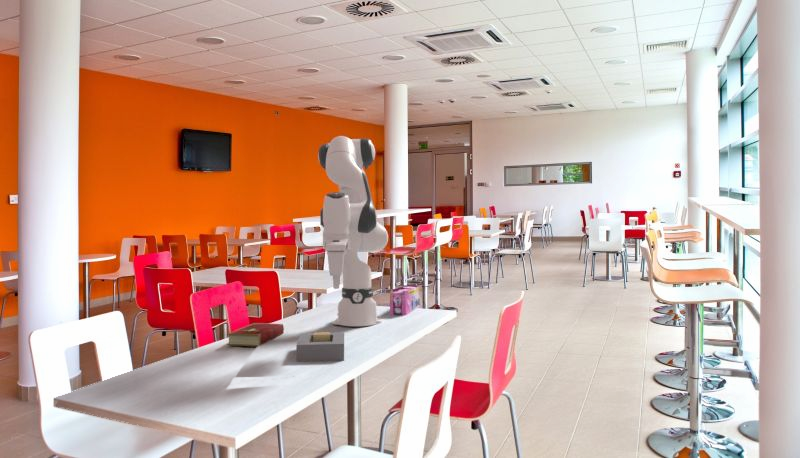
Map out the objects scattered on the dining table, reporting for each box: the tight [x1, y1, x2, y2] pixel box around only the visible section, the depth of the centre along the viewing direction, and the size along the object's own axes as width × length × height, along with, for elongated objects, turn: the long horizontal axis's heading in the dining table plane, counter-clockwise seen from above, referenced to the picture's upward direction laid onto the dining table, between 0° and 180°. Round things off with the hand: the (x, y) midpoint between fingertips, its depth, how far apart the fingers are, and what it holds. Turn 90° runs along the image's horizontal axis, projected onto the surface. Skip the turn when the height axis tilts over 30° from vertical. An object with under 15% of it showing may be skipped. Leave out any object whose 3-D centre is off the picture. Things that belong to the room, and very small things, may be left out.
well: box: [295, 331, 345, 363], centre depth 183 cm, size 18×14×5 cm
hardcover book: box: [226, 322, 285, 347], centre depth 208 cm, size 12×21×4 cm, turn 169°
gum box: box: [389, 284, 421, 316], centre depth 252 cm, size 22×7×13 cm, turn 162°
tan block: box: [313, 331, 331, 342], centre depth 183 cm, size 4×5×6 cm
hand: (336, 286), depth 187 cm, fingers open, 6 cm apart
